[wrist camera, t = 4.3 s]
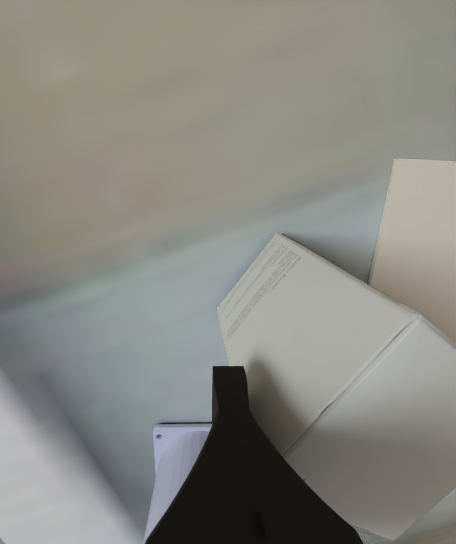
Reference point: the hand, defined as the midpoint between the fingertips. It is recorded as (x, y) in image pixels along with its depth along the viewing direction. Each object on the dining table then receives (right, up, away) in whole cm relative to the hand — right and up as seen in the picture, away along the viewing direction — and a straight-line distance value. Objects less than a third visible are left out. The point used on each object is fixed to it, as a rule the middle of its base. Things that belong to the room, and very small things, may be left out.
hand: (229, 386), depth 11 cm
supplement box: (+4, +3, +10) cm, 11 cm away
